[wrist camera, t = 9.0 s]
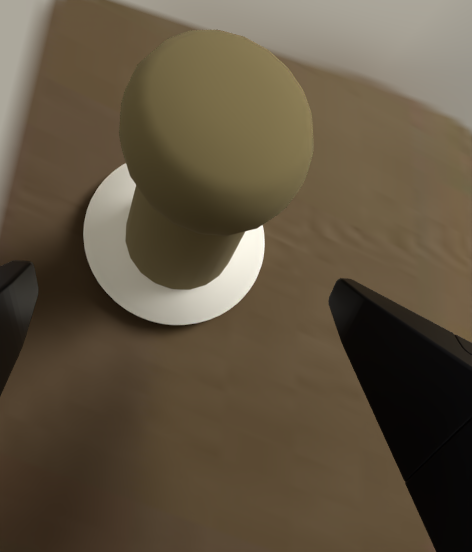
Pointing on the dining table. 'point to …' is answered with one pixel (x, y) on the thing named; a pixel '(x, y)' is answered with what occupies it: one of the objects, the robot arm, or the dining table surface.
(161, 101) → the cork
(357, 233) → the dining table surface
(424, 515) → the robot arm
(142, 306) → the coaster
